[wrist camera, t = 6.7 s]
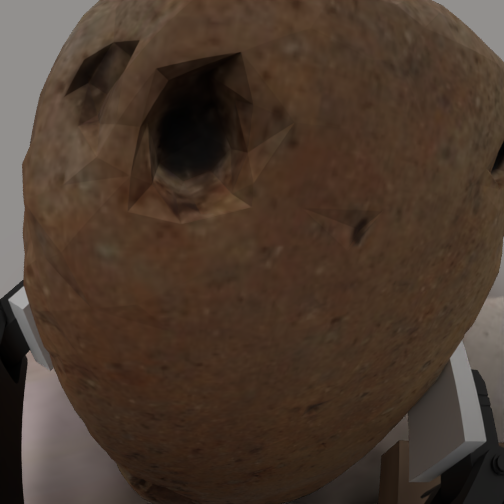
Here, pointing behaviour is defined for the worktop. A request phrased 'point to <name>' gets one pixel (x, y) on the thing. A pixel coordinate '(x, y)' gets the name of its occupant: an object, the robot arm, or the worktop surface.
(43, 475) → the worktop surface
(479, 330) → the worktop surface
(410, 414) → the robot arm
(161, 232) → the block
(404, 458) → the slab
